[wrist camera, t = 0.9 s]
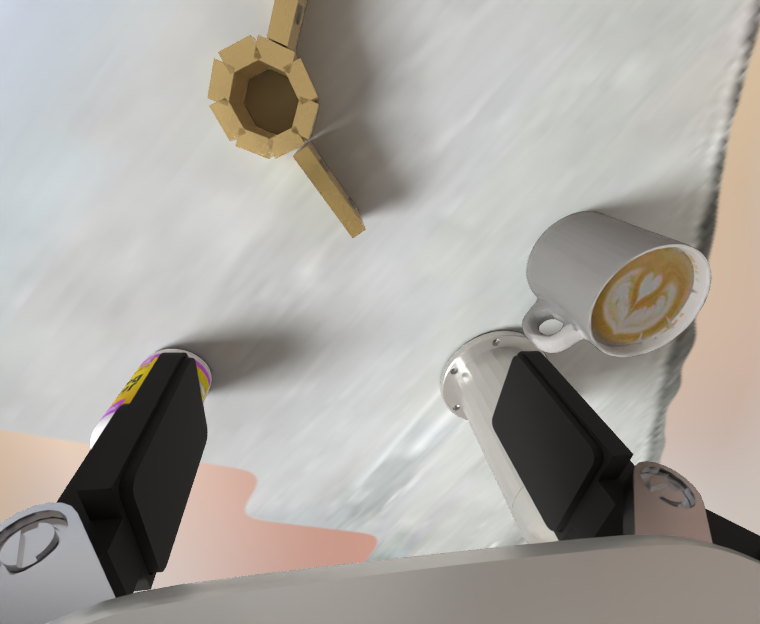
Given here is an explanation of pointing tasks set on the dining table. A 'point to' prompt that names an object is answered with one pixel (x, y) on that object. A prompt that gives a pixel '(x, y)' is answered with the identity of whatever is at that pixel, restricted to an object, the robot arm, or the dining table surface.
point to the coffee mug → (612, 286)
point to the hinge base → (253, 60)
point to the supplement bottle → (138, 379)
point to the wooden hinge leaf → (329, 189)
